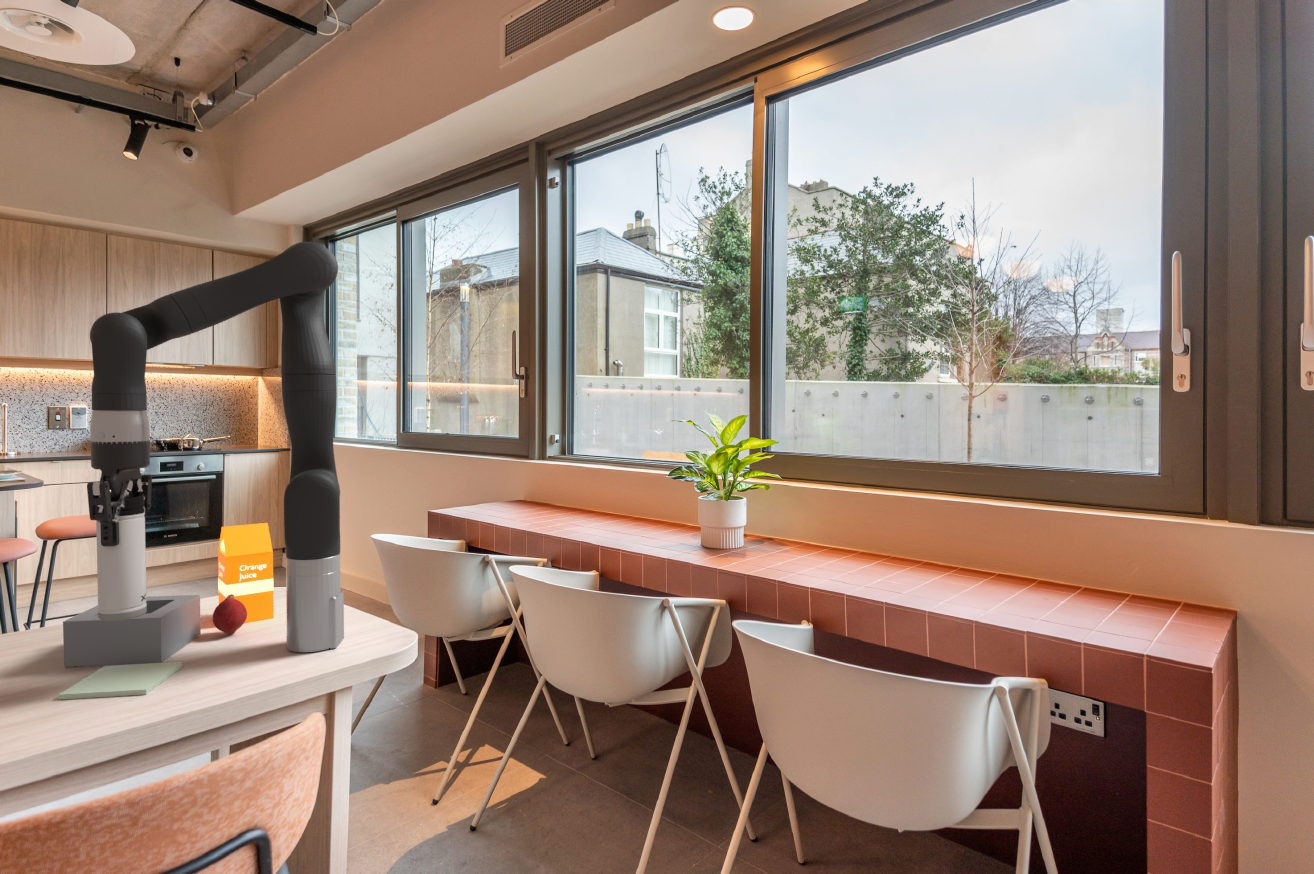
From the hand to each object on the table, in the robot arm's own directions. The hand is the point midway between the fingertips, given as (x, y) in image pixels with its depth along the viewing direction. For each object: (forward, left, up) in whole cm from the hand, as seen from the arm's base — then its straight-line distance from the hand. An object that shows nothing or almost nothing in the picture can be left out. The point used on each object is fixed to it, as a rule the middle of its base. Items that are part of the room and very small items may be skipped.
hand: (122, 541), depth 112 cm
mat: (0, 0, -23) cm, 23 cm away
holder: (+6, -16, -23) cm, 29 cm away
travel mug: (0, 0, -12) cm, 12 cm away
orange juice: (-6, -34, -23) cm, 42 cm away
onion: (-7, -23, -23) cm, 33 cm away
